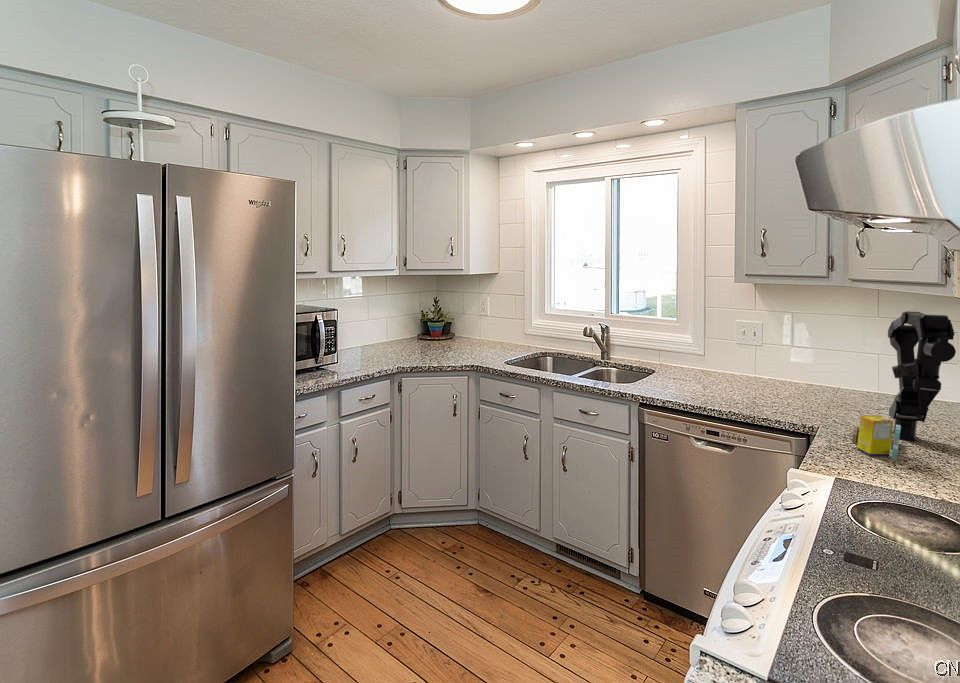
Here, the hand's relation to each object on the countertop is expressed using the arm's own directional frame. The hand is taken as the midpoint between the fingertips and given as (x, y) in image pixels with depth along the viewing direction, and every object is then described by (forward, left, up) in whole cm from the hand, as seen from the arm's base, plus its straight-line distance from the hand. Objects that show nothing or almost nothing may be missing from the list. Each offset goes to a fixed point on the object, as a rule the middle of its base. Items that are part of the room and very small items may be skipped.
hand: (922, 407), depth 171 cm
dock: (+2, -11, -13) cm, 17 cm away
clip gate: (+13, -6, -13) cm, 19 cm away
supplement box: (+14, -11, -13) cm, 22 cm away
